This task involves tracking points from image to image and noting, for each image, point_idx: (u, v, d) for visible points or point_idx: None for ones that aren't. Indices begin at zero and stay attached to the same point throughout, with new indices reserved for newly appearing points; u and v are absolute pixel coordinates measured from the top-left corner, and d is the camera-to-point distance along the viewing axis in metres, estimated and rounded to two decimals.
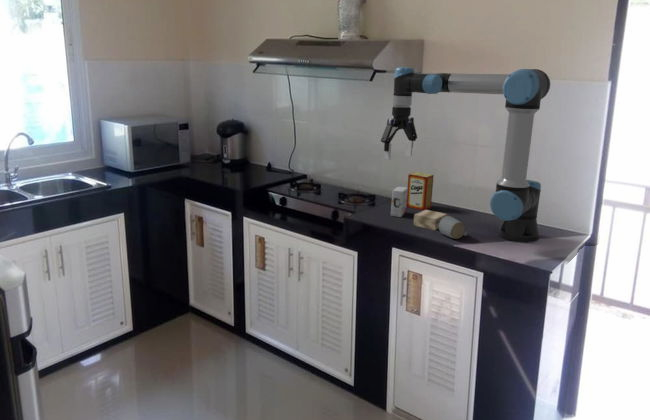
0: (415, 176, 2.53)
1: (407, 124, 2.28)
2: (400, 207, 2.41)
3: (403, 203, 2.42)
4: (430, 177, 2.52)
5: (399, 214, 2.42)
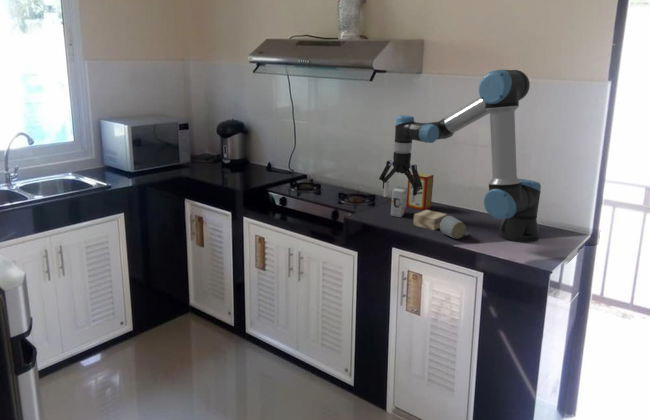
0: None
1: (404, 169, 2.38)
2: (400, 207, 2.41)
3: (403, 203, 2.42)
4: (430, 177, 2.52)
5: (399, 214, 2.42)
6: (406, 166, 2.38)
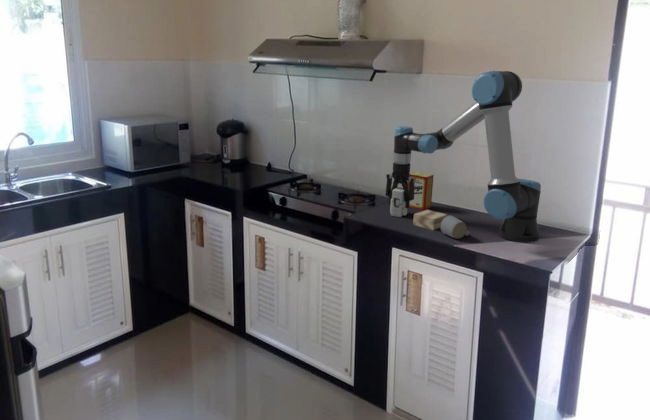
0: (415, 176, 2.53)
1: (402, 181, 2.40)
2: (400, 207, 2.41)
3: None
4: (430, 177, 2.52)
5: (399, 214, 2.42)
6: (405, 177, 2.39)
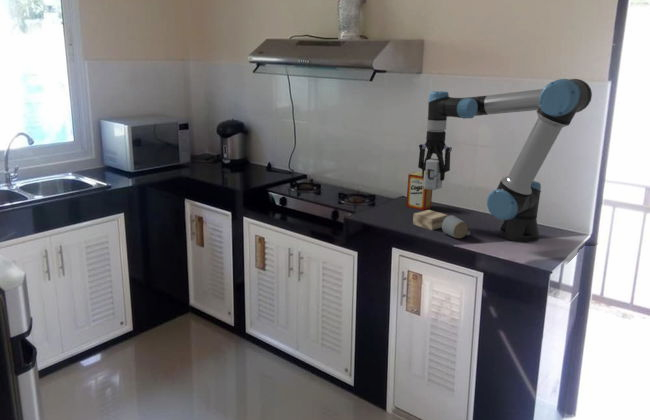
0: (415, 176, 2.53)
1: (437, 150, 2.21)
2: (435, 179, 2.22)
3: None
4: None
5: (434, 187, 2.23)
6: (441, 146, 2.21)
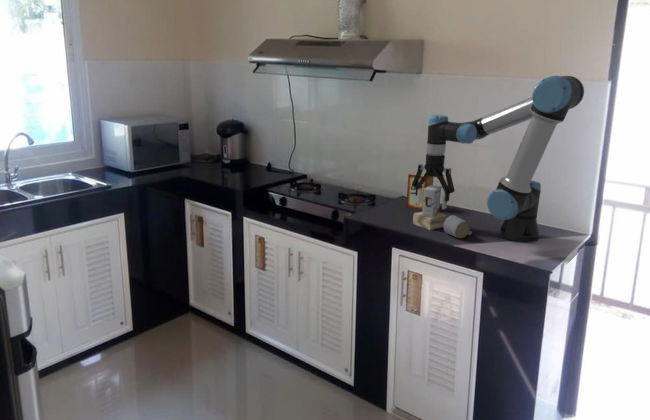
0: None
1: (437, 173, 2.23)
2: (432, 207, 2.25)
3: (436, 203, 2.26)
4: (430, 177, 2.52)
5: (431, 214, 2.26)
6: (440, 169, 2.23)
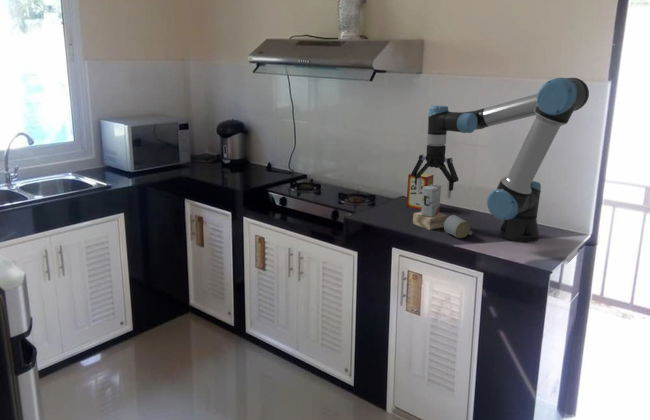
0: None
1: (438, 163, 2.22)
2: (431, 206, 2.25)
3: (434, 202, 2.27)
4: (430, 177, 2.52)
5: (430, 213, 2.26)
6: (441, 160, 2.22)
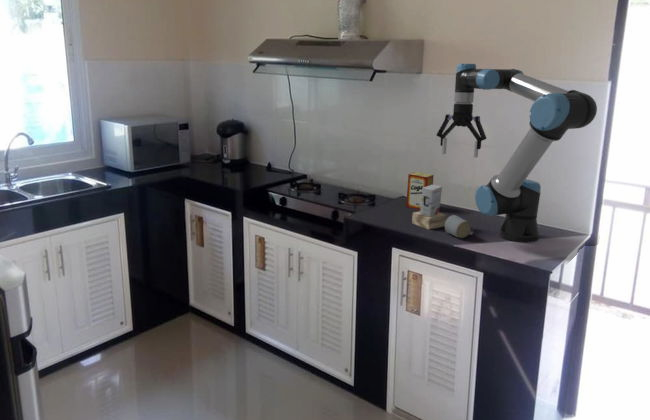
0: (415, 176, 2.53)
1: (466, 122, 2.21)
2: (430, 206, 2.25)
3: (434, 202, 2.27)
4: (430, 177, 2.52)
5: (429, 214, 2.26)
6: (468, 118, 2.21)
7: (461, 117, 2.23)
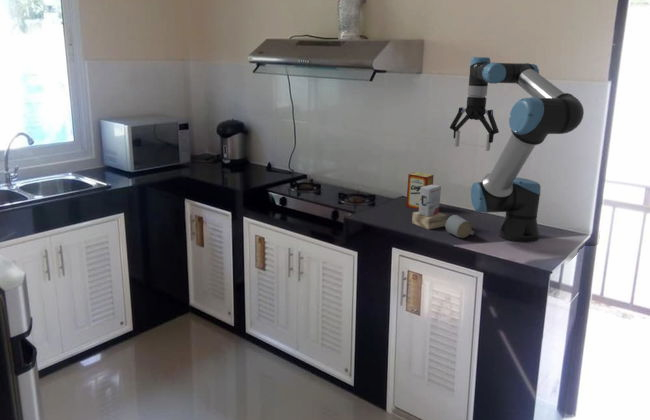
0: (415, 176, 2.53)
1: (479, 115, 2.23)
2: (427, 206, 2.26)
3: (432, 202, 2.27)
4: (430, 177, 2.52)
5: (426, 213, 2.27)
6: (481, 111, 2.23)
7: (474, 110, 2.25)
